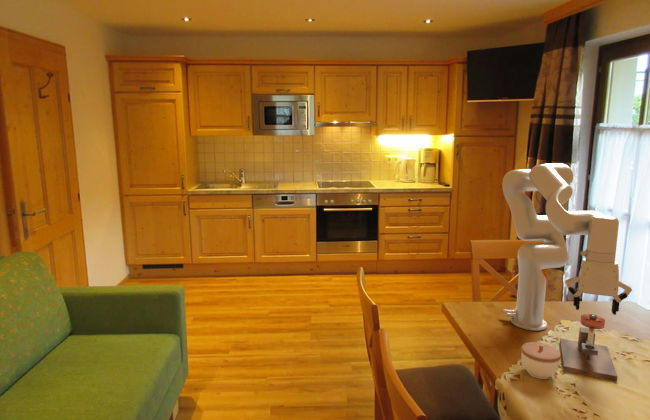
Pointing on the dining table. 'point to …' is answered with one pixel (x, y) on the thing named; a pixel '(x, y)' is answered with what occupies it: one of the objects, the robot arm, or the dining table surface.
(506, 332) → the dining table surface
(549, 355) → the lidded jar
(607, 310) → the dining table surface
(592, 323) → the orange knobbed disc
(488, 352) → the dining table surface
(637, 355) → the dining table surface
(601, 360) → the eye stand
